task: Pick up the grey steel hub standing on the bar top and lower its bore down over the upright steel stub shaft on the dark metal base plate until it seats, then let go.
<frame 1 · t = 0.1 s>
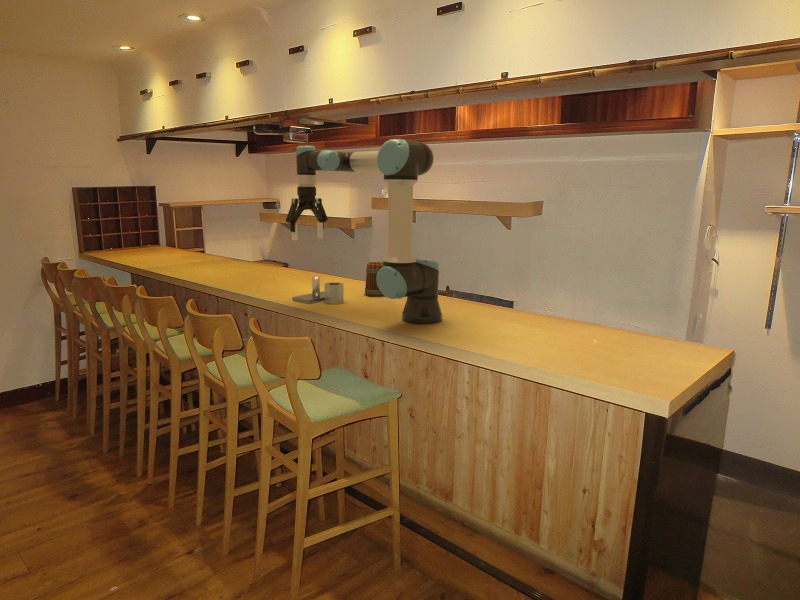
hand: (307, 239, 217), 28 cm above the table, fingers open, 13 cm apart
mug: (381, 295, 247), on the table
hub: (334, 302, 231), on the table
shaft stand: (316, 299, 237), on the table
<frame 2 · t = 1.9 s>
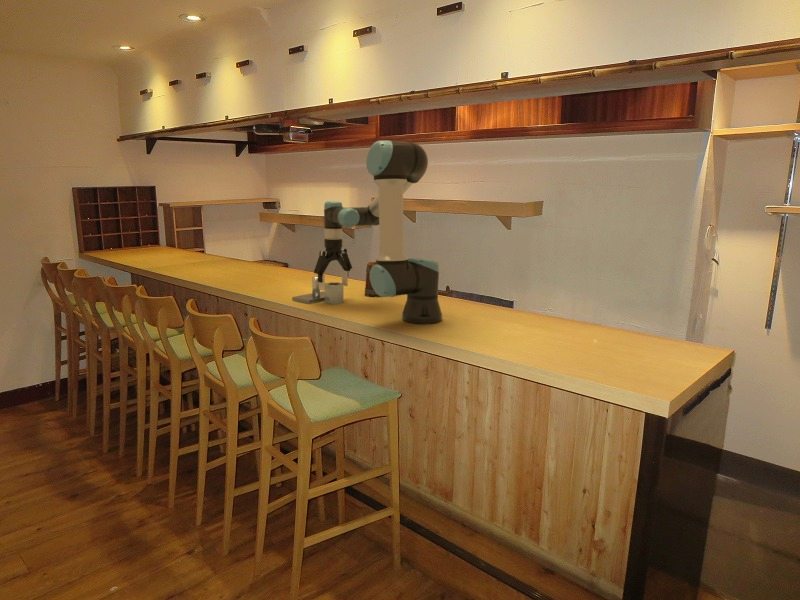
hand: (333, 287, 230), 6 cm above the table, fingers open, 13 cm apart
nothing on the table moved.
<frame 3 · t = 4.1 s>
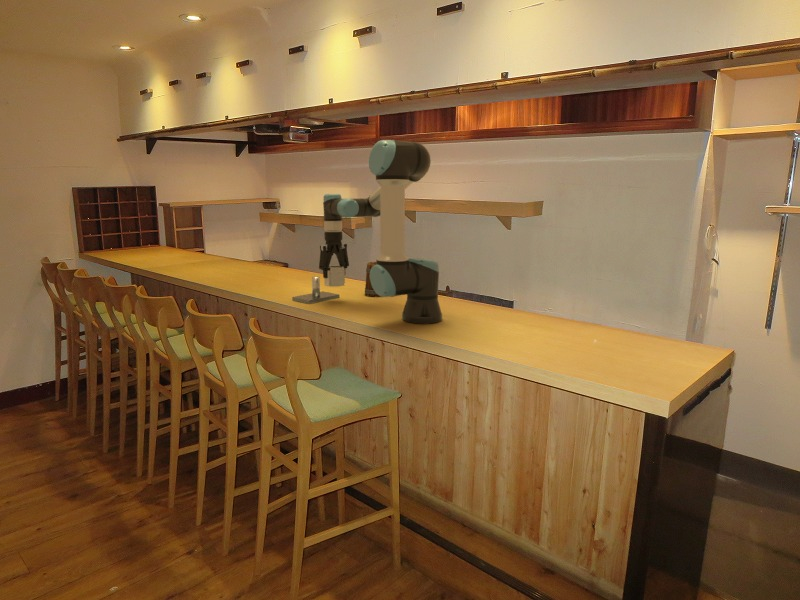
hand: (334, 284, 229), 8 cm above the table, fingers closed on hub, 8 cm apart
hub: (335, 285, 229), point 8 cm above the table, touching gripper
everything else where it was.
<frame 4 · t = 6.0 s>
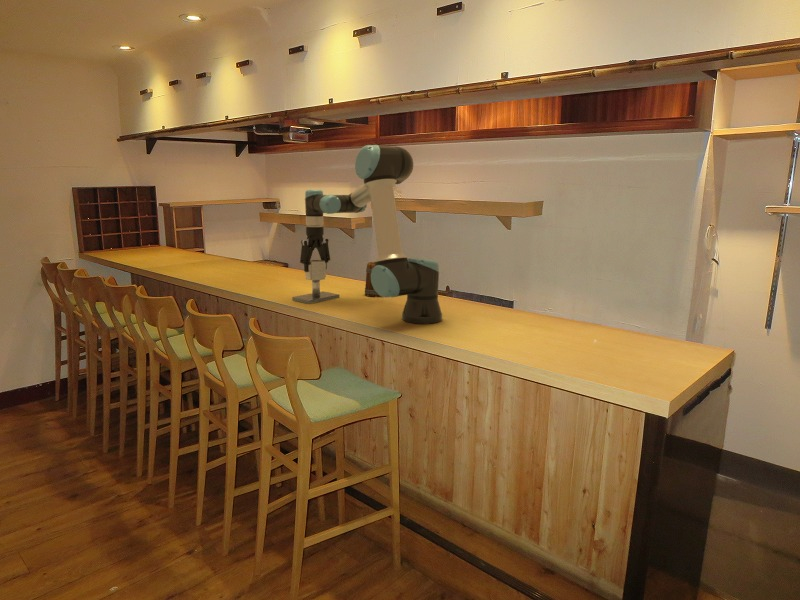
hand: (315, 278, 235), 9 cm above the table, fingers closed on hub, 8 cm apart
hub: (316, 278, 235), point 9 cm above the table, touching gripper
everything else where it was.
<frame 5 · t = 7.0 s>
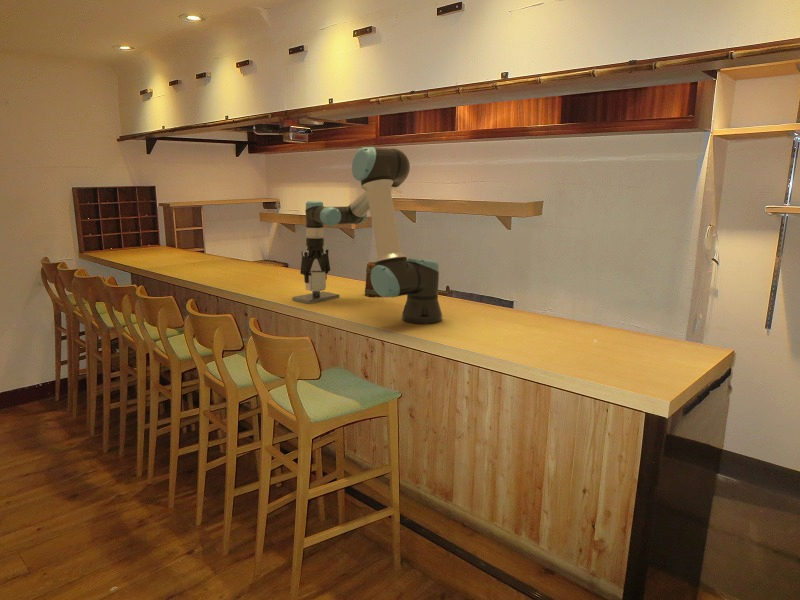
hand: (316, 288, 236), 5 cm above the table, fingers closed on hub, 8 cm apart
hub: (316, 289, 236), point 4 cm above the table, touching gripper
everything else where it was.
when the fingers open (2 cm above the table, at t = 8.0 s): hub stays where it is, resting on shaft stand.
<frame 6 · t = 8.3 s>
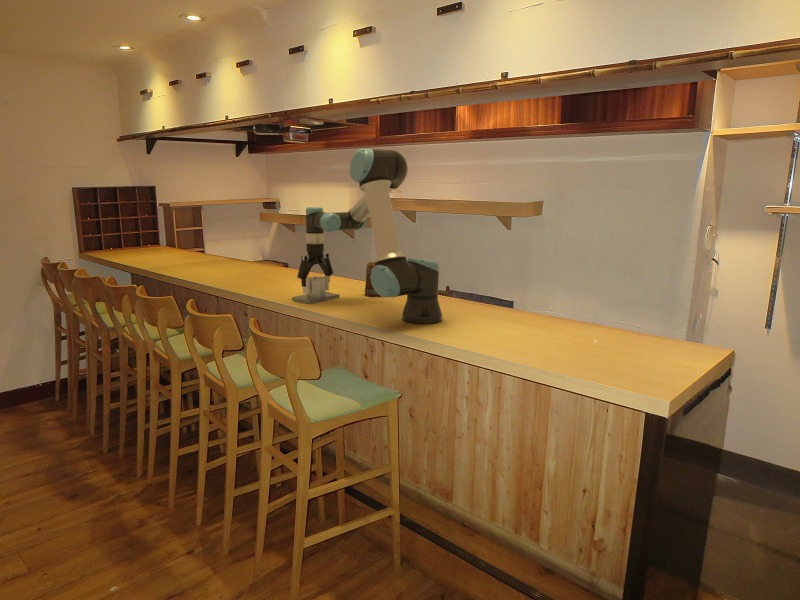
hand: (316, 292, 236), 3 cm above the table, fingers open, 11 cm apart
hub: (316, 295, 236), point 1 cm above the table, touching shaft stand
everything else where it was.
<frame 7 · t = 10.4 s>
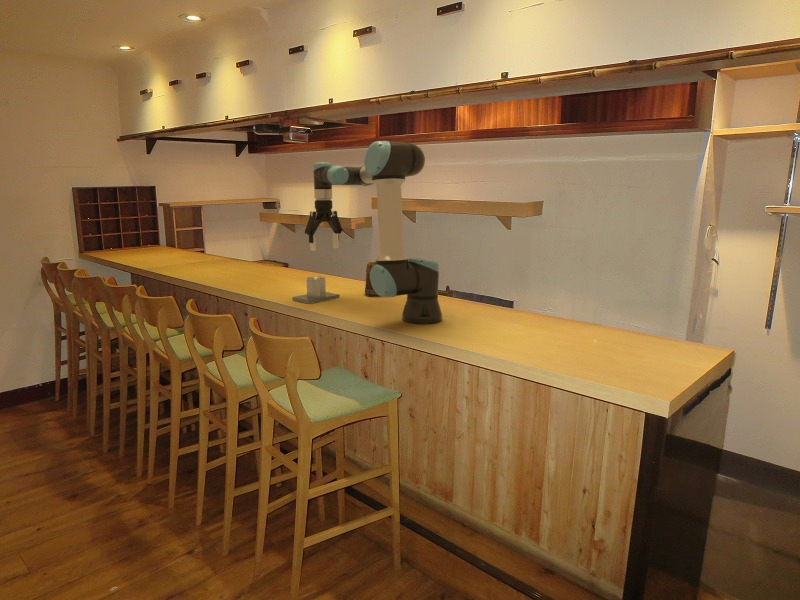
hand: (324, 249, 231), 22 cm above the table, fingers open, 13 cm apart
nothing on the table moved.
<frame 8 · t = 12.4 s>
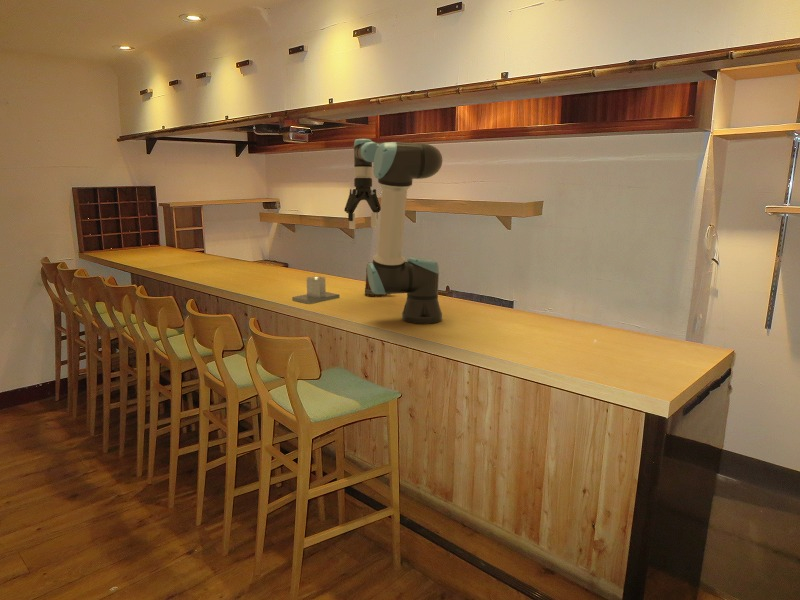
hand: (363, 228, 228), 32 cm above the table, fingers open, 13 cm apart
nothing on the table moved.
at the end: hub 0.2 cm off-centre on the shaft stand, point 1.5 cm above the shaft stand's base; hub tilted 0°; the gripper is holding nothing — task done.
